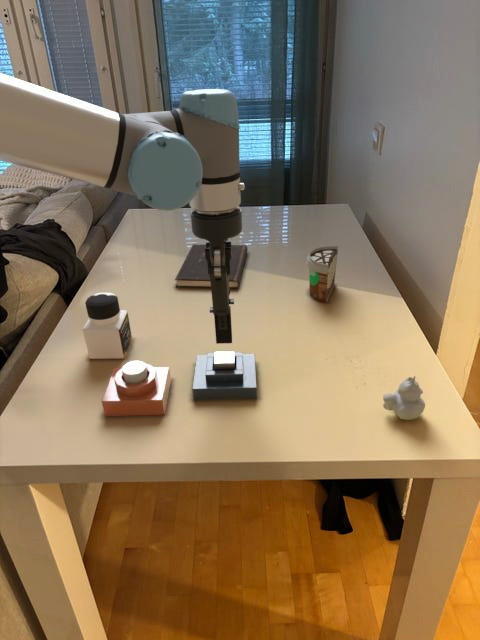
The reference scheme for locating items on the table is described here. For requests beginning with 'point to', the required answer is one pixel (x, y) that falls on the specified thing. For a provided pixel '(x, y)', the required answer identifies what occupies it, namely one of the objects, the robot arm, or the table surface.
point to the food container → (322, 271)
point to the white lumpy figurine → (406, 400)
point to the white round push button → (134, 372)
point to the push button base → (225, 378)
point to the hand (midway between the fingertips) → (224, 340)
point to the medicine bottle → (106, 327)
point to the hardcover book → (197, 268)
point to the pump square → (224, 361)
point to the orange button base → (137, 393)
